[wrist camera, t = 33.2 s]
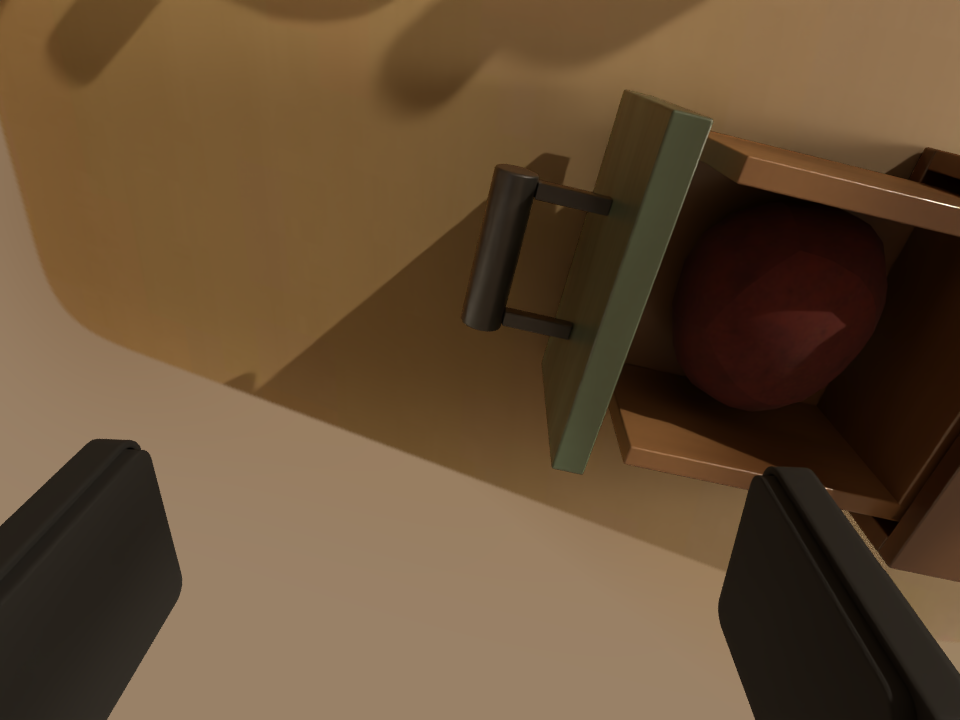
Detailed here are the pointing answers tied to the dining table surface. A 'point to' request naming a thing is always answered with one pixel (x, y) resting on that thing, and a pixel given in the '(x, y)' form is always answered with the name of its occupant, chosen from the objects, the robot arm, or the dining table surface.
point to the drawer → (648, 314)
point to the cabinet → (954, 483)
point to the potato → (777, 302)
